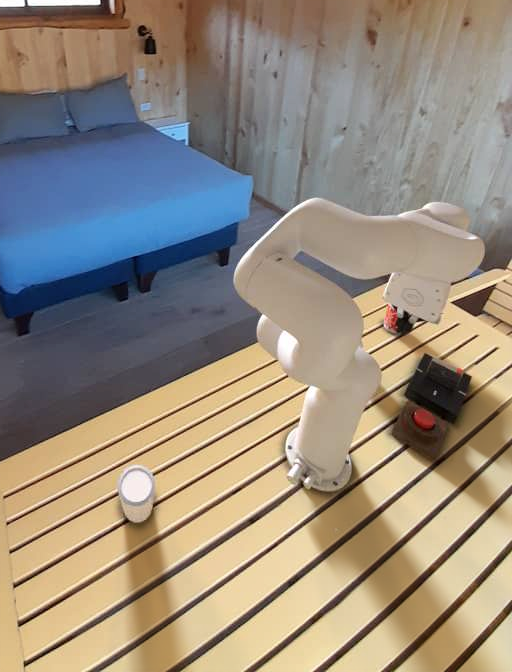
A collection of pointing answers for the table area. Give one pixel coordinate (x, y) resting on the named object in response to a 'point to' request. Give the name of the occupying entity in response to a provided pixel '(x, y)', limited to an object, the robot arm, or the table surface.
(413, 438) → the button block
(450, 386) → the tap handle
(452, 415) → the black lever switch base
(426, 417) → the button
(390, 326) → the beverage cup
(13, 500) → the table surface
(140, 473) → the white lidded tub
